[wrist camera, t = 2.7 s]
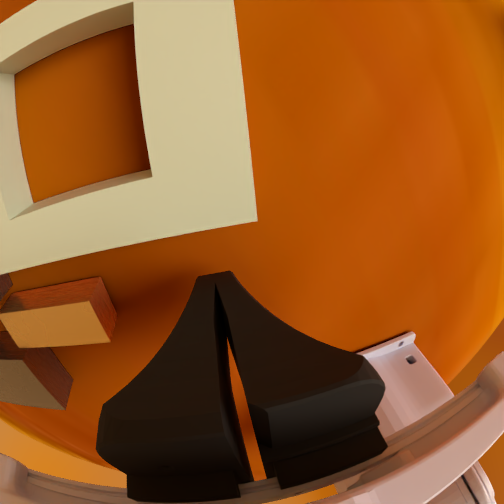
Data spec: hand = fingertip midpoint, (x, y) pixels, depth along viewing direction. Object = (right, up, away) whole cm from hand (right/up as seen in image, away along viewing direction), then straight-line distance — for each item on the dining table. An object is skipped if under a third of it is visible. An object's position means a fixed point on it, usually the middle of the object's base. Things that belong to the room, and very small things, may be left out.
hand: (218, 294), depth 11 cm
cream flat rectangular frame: (-5, +7, -3) cm, 9 cm away
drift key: (-8, -1, 0) cm, 8 cm away
